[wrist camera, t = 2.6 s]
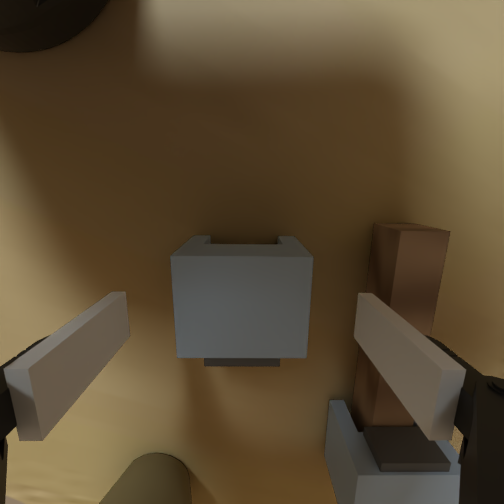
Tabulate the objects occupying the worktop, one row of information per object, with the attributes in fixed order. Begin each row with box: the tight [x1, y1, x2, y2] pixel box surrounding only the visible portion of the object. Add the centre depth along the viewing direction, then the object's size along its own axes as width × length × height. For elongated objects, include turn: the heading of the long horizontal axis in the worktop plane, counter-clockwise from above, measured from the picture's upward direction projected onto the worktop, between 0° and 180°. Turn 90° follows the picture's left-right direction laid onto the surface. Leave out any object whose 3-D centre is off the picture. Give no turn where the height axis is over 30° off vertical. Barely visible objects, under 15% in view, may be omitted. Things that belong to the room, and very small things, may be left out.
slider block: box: [324, 400, 461, 504], centre depth 20 cm, size 7×7×6 cm
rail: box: [351, 223, 450, 432], centre depth 20 cm, size 22×3×4 cm, turn 179°
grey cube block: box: [170, 235, 314, 366], centre depth 17 cm, size 7×7×6 cm
